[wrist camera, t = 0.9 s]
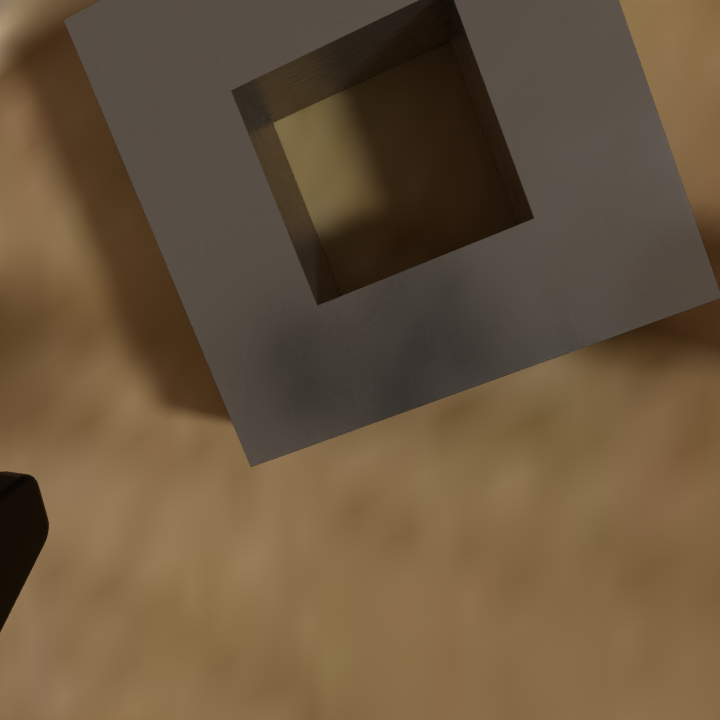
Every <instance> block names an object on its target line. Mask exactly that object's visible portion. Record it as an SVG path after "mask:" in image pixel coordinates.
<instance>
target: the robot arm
mask: <svg viewBox="0 0 720 720" xmlns="http://www.w3.org/2000/svg"><path fill="white" fill-rule="evenodd" d="M48 530H49V521H48V517H47V514H46V510H45V506H44V503H43V499H42V496H41V492H40V489H39V485H38V483H37V481H36V480H35V478H34V477H33V476H31V475H28V474H21V473H14V472H7V471H5V472H0V632H1V630H2V628H3V626H4V624H5V622H6V620H7V618H8V616H9V614H10V612H11V610H12V608H13V606H14V604H15V602H16V600H17V598H18V596H19V594H20V592H21V590H22V588H23V586H24V584H25V582H26V580H27V578H28V576H29V574H30V572H31V570H32V568H33V566H34V564H35V562H36V560H37V558H38V556H39V554H40V552H41V550H42V548H43V546H44V544H45V541H46V539H47V535H48Z"/></svg>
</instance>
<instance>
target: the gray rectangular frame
mask: <svg viewBox="0 0 720 720" xmlns="http://www.w3.org/2000/svg"><path fill="white" fill-rule="evenodd" d="M64 22H65V24H66V27H67V29H68V31H69V34H70V36H71V39H72V41H73V43H74V46H75V48H76V51H77V53H78V55H79V58H80V60H81V62H82V65H83V67H84V70H85V72H86V74H87V77H88V79H89V82H90V84H91V86H92V89H93V91H94V94H95V96H96V98H97V101H98V103H99V105H100V108H101V110H102V113H103V115H104V117H105V120H106V122H107V125H108V127H109V129H110V132H111V134H112V137H113V139H114V141H115V144H116V146H117V148H118V151H119V153H120V156H121V158H122V160H123V163H124V165H125V168H126V170H127V172H128V175H129V177H130V180H131V182H132V184H133V187H134V189H135V191H136V194H137V196H138V199H139V201H140V203H141V206H142V208H143V211H144V213H145V215H146V218H147V220H148V223H149V225H150V227H151V230H152V232H153V234H154V237H155V239H156V242H157V244H158V246H159V249H160V251H161V254H162V256H163V258H164V261H165V263H166V266H167V268H168V270H169V273H170V275H171V277H172V280H173V282H174V285H175V287H176V289H177V292H178V294H179V297H180V299H181V301H182V304H183V306H184V309H185V311H186V313H187V316H188V318H189V320H190V323H191V325H192V328H193V330H194V332H195V335H196V337H197V340H198V342H199V344H200V347H201V349H202V352H203V354H204V356H205V359H206V361H207V363H208V366H209V368H210V371H211V373H212V375H213V378H214V380H215V383H216V385H217V387H218V390H219V392H220V395H221V397H222V399H223V402H224V404H225V406H226V409H227V411H228V414H229V416H230V418H231V421H232V423H233V426H234V428H235V430H236V433H237V435H238V438H239V440H240V442H241V445H242V447H243V449H244V452H245V454H246V457H247V459H248V461H249V464H250V466H251V467H253V466H256V465H259V464H261V463H264V462H267V461H270V460H273V459H275V458H278V457H281V456H284V455H286V454H289V453H292V452H295V451H298V450H300V449H303V448H306V447H309V446H311V445H314V444H317V443H320V442H322V441H325V440H328V439H331V438H334V437H336V436H339V435H342V434H345V433H347V432H350V431H353V430H356V429H359V428H361V427H364V426H367V425H370V424H372V423H375V422H378V421H381V420H384V419H386V418H389V417H392V416H395V415H397V414H400V413H403V412H406V411H409V410H411V409H414V408H417V407H420V406H422V405H425V404H428V403H431V402H434V401H436V400H439V399H442V398H445V397H447V396H450V395H453V394H456V393H459V392H461V391H464V390H467V389H470V388H472V387H475V386H478V385H481V384H483V383H486V382H489V381H492V380H495V379H497V378H500V377H503V376H506V375H508V374H511V373H514V372H517V371H520V370H522V369H525V368H528V367H531V366H533V365H536V364H539V363H542V362H545V361H547V360H550V359H553V358H556V357H558V356H561V355H564V354H567V353H570V352H572V351H575V350H578V349H581V348H583V347H586V346H589V345H592V344H595V343H597V342H600V341H603V340H606V339H608V338H611V337H614V336H617V335H620V334H622V333H625V332H628V331H631V330H633V329H636V328H639V327H642V326H644V325H647V324H650V323H653V322H656V321H658V320H661V319H664V318H667V317H669V316H672V315H675V314H678V313H681V312H683V311H686V310H689V309H692V308H694V307H697V306H700V305H703V304H706V303H708V302H711V301H714V300H717V299H719V298H720V290H719V287H718V285H717V282H716V279H715V276H714V273H713V270H712V267H711V264H710V261H709V259H708V256H707V253H706V250H705V247H704V244H703V241H702V238H701V236H700V233H699V230H698V227H697V224H696V221H695V218H694V215H693V213H692V210H691V207H690V204H689V201H688V198H687V195H686V192H685V190H684V187H683V184H682V181H681V178H680V175H679V172H678V169H677V166H676V164H675V161H674V158H673V155H672V152H671V149H670V146H669V143H668V141H667V138H666V135H665V132H664V129H663V126H662V123H661V120H660V118H659V115H658V112H657V109H656V106H655V103H654V100H653V97H652V95H651V92H650V89H649V86H648V83H647V80H646V77H645V74H644V71H643V69H642V66H641V63H640V60H639V57H638V54H637V51H636V48H635V46H634V43H633V40H632V37H631V34H630V31H629V28H628V25H627V23H626V20H625V17H624V14H623V11H622V8H621V5H620V2H619V0H100V1H99V2H97V3H95V4H93V5H91V6H89V7H87V8H85V9H83V10H82V11H80V12H78V13H76V14H74V15H72V16H70V17H68V18H67V19H65V20H64ZM448 41H450V42H451V45H452V47H453V50H454V53H455V55H456V58H457V61H458V64H459V66H460V69H461V72H462V74H463V77H464V80H465V82H466V85H467V88H468V91H469V93H470V96H471V99H472V101H473V104H474V107H475V109H476V112H477V115H478V118H479V120H480V123H481V126H482V128H483V131H484V134H485V136H486V139H487V142H488V144H489V147H490V150H491V153H492V155H493V158H494V161H495V163H496V166H497V169H498V171H499V174H500V177H501V180H502V182H503V185H504V188H505V190H506V193H507V196H508V198H509V201H510V204H511V207H512V209H513V212H514V215H515V217H516V220H517V223H518V225H517V226H514V227H512V228H509V229H507V230H504V231H502V232H499V233H497V234H494V235H492V236H490V237H487V238H485V239H482V240H480V241H477V242H475V243H472V244H470V245H467V246H465V247H462V248H460V249H457V250H455V251H452V252H450V253H447V254H445V255H442V256H440V257H437V258H435V259H432V260H430V261H427V262H425V263H422V264H420V265H417V266H415V267H412V268H410V269H408V270H405V271H403V272H400V273H398V274H395V275H393V276H390V277H388V278H385V279H383V280H380V281H378V282H375V283H373V284H370V285H368V286H365V287H363V288H360V289H358V290H355V291H353V292H350V293H348V294H345V295H343V296H341V294H340V291H339V289H338V286H337V284H336V281H335V279H334V276H333V274H332V271H331V269H330V266H329V264H328V261H327V258H326V256H325V253H324V251H323V248H322V246H321V243H320V241H319V238H318V236H317V233H316V231H315V228H314V226H313V223H312V221H311V218H310V216H309V213H308V211H307V208H306V206H305V203H304V201H303V198H302V196H301V193H300V191H299V188H298V185H297V183H296V180H295V178H294V175H293V173H292V170H291V168H290V165H289V163H288V160H287V158H286V155H285V153H284V150H283V148H282V145H281V143H280V140H279V138H278V135H277V133H276V130H275V128H274V125H273V122H276V121H278V120H280V119H282V118H284V117H286V116H289V115H291V114H293V113H295V112H297V111H299V110H301V109H304V108H306V107H308V106H310V105H312V104H314V103H317V102H319V101H321V100H323V99H325V98H327V97H329V96H332V95H334V94H336V93H338V92H340V91H342V90H344V89H347V88H349V87H351V86H353V85H355V84H357V83H360V82H362V81H364V80H366V79H368V78H370V77H372V76H375V75H377V74H379V73H381V72H383V71H385V70H388V69H390V68H392V67H394V66H396V65H398V64H400V63H403V62H405V61H407V60H409V59H411V58H413V57H415V56H418V55H420V54H422V53H424V52H426V51H428V50H431V49H433V48H435V47H437V46H439V45H441V44H443V43H446V42H448Z"/></svg>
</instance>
